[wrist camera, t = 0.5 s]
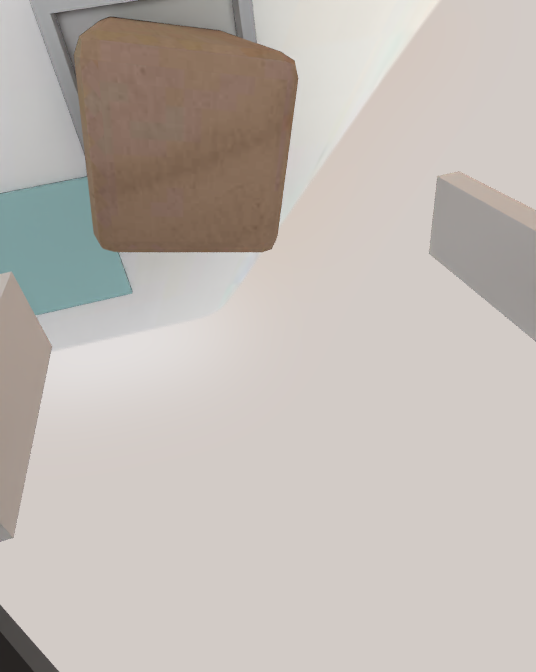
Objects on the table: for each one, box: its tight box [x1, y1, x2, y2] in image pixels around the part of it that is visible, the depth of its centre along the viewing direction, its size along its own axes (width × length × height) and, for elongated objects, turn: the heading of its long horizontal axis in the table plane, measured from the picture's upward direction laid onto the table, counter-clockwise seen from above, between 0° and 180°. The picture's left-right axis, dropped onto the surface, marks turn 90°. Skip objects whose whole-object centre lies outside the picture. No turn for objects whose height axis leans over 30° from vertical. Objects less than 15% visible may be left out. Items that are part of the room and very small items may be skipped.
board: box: [0, 177, 132, 315], centre depth 43 cm, size 12×12×1 cm
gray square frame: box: [30, 0, 257, 155], centre depth 37 cm, size 15×15×2 cm
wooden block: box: [74, 17, 298, 252], centre depth 30 cm, size 10×10×20 cm
